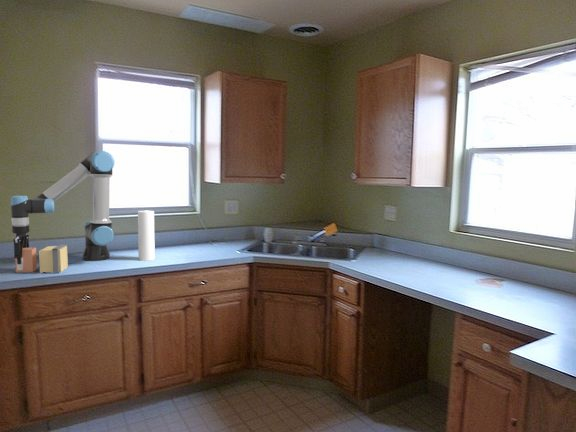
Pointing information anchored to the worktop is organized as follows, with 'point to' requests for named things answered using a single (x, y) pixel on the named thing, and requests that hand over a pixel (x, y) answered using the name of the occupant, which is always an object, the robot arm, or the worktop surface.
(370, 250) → the worktop surface
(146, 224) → the cylinder container
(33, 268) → the stub
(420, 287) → the worktop surface
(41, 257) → the block
